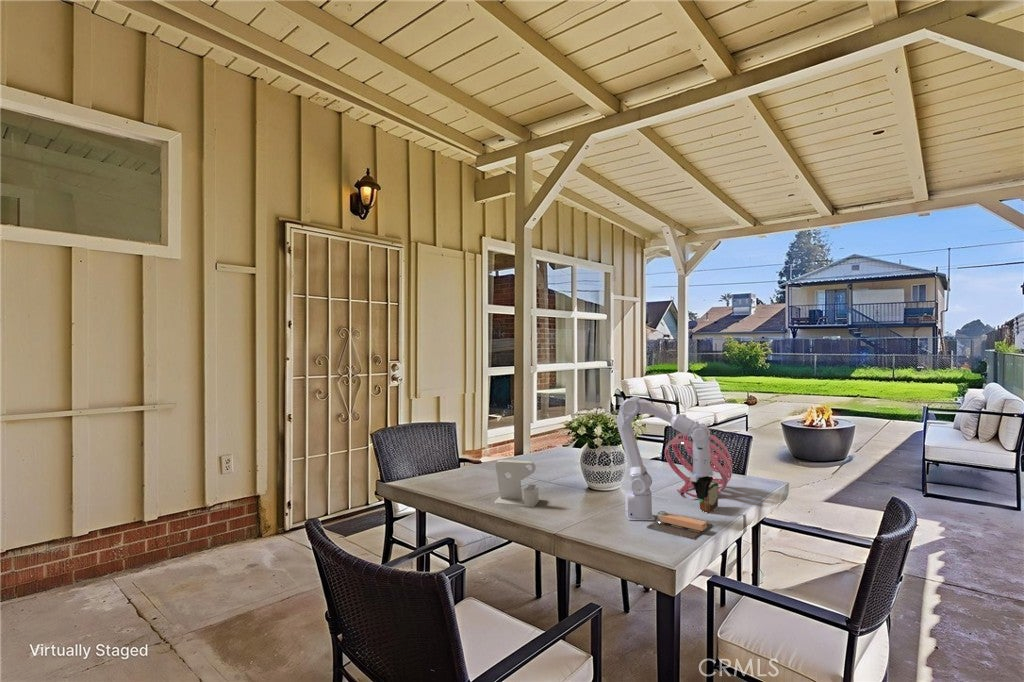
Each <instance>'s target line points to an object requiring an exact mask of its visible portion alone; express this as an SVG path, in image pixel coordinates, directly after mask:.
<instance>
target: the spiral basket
mask: <svg viewBox="0 0 1024 682" xmlns="http://www.w3.org/2000/svg"><path fill="white" fill-rule="evenodd" d="M681 436H682V438H679V437H681ZM689 437H690V438H692V437H691V436H687V435H685V434H683V433H681V432H679V433H678V434H676V435H675V436H673V439H671V440H670V441H669V442H668V443H667V444H666V445H665V448H664V455H665V459H666V462H667V463H668V465H669V467H670V468H671V469H672V470H673V472H674V473H675V474H676V475H677V476H678V477H679V478H680V479H681V480H683V482H684V485H683V486H682V487H681V488H680V489H679V488H678V489H677V490H676V492H677V493H678V494H683V493H684V494H686V495H688V497H692V498H695V499H698V498H697V494H693V493H690V492H688V490H689V489H690V488H694V485H693V483H692V482H691V481H690V477H688V476H686V474H684V472H682V470H680V469H679V468H678V467H677V465H676V463H674V461H673V459H672V458H671V456H670V452H669V446H670V445H671V447H672V452H673V453H674V456H675V457H676V458H677V460H678V462H680V464H681V465H682V467H684V468H685V469H686V470H687V471H688V472H689V473H691V475H692V471H693V465H691V464H690V463H689V462H688V461H687V459H685V457H684V456H683V454H682V453H681V452H680V451H681V450H680V449H679V447H678V445H682V446H683V447H684V449H685V450H686V453H687V454H688V455H689V456H690V457H691V458H692V459H693V441H690V440H689ZM709 439H711V440H712V441H714V442H715V443H717V444H718V445H719V446H720V447H721V448H722V449H723V450H722V449H721V448H719V446H717V445H716V444H715V443H714V442H712V441H711V440H709V446H710V468H712V472H713V473H714V472H715V473H718V474H719V475H720V477H721V478H714V477H713V480H714V481H718V485H721V486H720V487H718V495H719V494H720V493H722V492H723V490H724V491H725V488H726V487H727V485H728V483H729V481H730V480H731V478H732V476H733V467H732V466H733V460H732V456H731V453H730V452H729V449H727V447H726V446H725V444H724V443H723V441H722V440H720V439H719V438H717V437H716V436H715V435H713V434H711V433H710V436H709ZM713 450H714V451H715V452H713ZM719 461H723V463H724V464H723V466H722V464H721V463H720V462H719Z"/></svg>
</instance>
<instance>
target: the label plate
mask: <svg viewBox="0 0 1024 682" xmlns="http://www.w3.org/2000/svg"><path fill="white" fill-rule="evenodd" d="M710 527H711V528H712V527H713V524H711V523H708V522H707V528H706V529H705V530H703V531H700V530H696V529H691V528H687V527H683V526H678V525H674V524H670V523H666V522H660V521H658V518H657V519H656V520H655V521H654V522H651V523H650V524H649V525H647V526H646V529H649V530H654V531H657V532H661V533H665V534H668V535H669V534H670V535H673V534H674V536H677V535H678V537H681V536H682V537H683V538H685V537H686V538H685V539H689V538H691V539H690V540H693V539H694V540H695V539H696V538H698V537H700V536H701V535H702V534H704V533H705V532H706V531H708V530H710V529H711V528H710ZM703 532H704V533H703Z"/></svg>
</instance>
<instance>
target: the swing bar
mask: <svg viewBox="0 0 1024 682" xmlns="http://www.w3.org/2000/svg"><path fill="white" fill-rule="evenodd" d="M657 519H658V521H660V522H666V523H670V524H674V525H678V526H683V527H687V528H691V529H696V530H700V531H703V530H705V529H706V528H707V523H708V522H707V521H705V520H701V519H700V520H699V519H696V518H691V517H687V516H682V515H678V514H673V513H669V512H666V511H664V510H660V511H658V512H657Z"/></svg>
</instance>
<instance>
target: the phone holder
mask: <svg viewBox="0 0 1024 682" xmlns="http://www.w3.org/2000/svg"><path fill="white" fill-rule="evenodd" d="M527 466H531V469H530V468H528V467H527ZM495 471H496V477H497V483H498V491H499V496H498V498H497V499H496V500H494V503H493V504H494V505H497V504H502V505H501V506H511V505H514V506H513V507H524V508H525V507H526V508H527V507H530V508H535V506H536V505H537V504H538V503H539V501H540V498H539V485H538V484H528V485H527V486H526V487H525V488H524V489H523V488H522V482H521V481H522V480H524V479H526V478H528V477H529V476H531V475H532V474H534V473H535V472H536V463H535V462H534V461H532V460H531V461H530V460H517V459H498V460H497V461H496V463H495ZM506 473H509V474H510V477H507V476H506ZM522 490H523V491H522Z"/></svg>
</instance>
